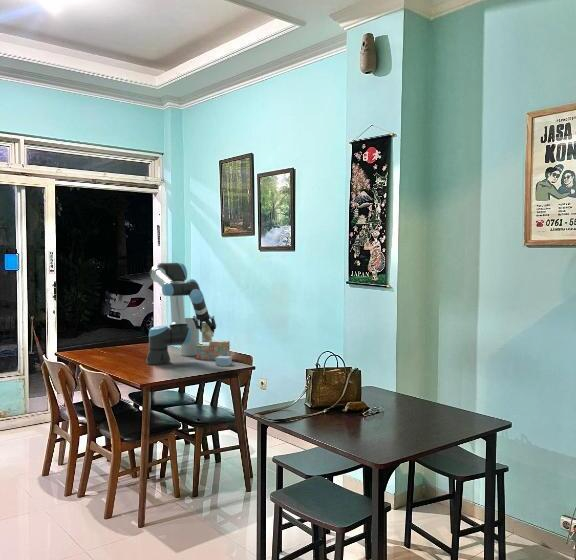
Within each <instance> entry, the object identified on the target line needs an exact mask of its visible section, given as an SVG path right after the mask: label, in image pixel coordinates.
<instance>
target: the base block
mask: <svg viewBox="0 0 576 560" xmlns="http://www.w3.org/2000/svg"><path fill="white" fill-rule="evenodd" d="M232 358H233V357H232V355H231V356H230V355H229V356H218V357H216V360H215V366H216V365H219V367H229V366H230V365H232Z"/></svg>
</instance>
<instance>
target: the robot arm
mask: <svg viewBox="0 0 576 560" xmlns="http://www.w3.org/2000/svg"><path fill="white" fill-rule="evenodd" d="M149 277H150V278H151V280H152V281H153V282H155V283H157V284H158V285H159V286H160V287H161V292H162V295H163V296H165V297H169V303H170V319H171V323H169V327H168V325H156V326H152V327H150V329H149V330H148V353H147V357H146V359H145V362H146V365H152V366H154V365H155V366H156V365H157V366H161V365H169V364H170V363H171V356H170V354H169V351H168V349H169V348H168V347H169V346H170V347H171V346H181V345H185V344H188V343H189V342H190V339H191V328H190V327H189V326H188V324H187V323H186V322H185V318H186V316H185V304H184V303H185V302H184V297H185V296H188V297H189V299H190V302H191V303H192V308H193V311H194V313H195V315H193V316H192V318H193V321H194V323H195V326H196V329H199V333H202V323H203V322H206V323H207V324H208V326H209V327H210V331H211V334H212V338H213V337H214V336H215V330H216V329H217V324H216V323H217V322H216V319H215V315H212V316H211V315H210V313H209V311H208V307H207V304H206V301H205V296H204V294H203V292H202V291H201V288H200V284H199V283H198V281H197V280H196V279H193V278H190V279H188V270H187V267H186V264H184V263H182V262H160V263H156V264H155V265H153V266H152V267H151V269H150V271H149ZM187 279H188V280H187ZM197 319H198V320H199V324H198V321H197ZM211 322H212V323H211Z"/></svg>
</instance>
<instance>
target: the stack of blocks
mask: <svg viewBox="0 0 576 560" xmlns="http://www.w3.org/2000/svg"><path fill="white" fill-rule="evenodd" d="M230 342H231V341H230V340H215V339H214V340H213V339H212V342H208V343H209V344H207V343H206V344H204V343H203V344H202V343H201V344H200V343H199V345H197V346H196V357H195V359H196V360H204V359H207V361H209V360H211V361H216V357H218V356H230V348H231V344H230Z"/></svg>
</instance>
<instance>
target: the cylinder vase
mask: <svg viewBox="0 0 576 560" xmlns="http://www.w3.org/2000/svg"><path fill="white" fill-rule="evenodd" d="M197 321H198V324H199V325H200V321H199V320H198V319H197ZM185 322H186V323H187V324H188V326H189V327H190V328H191V339H190V342H189V343H188V344H185V345H180V355H181V356H184V357H195V356H196V346H197V345H199V344H200V329H196V326H195V323H194V321H193V317H185Z"/></svg>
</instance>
